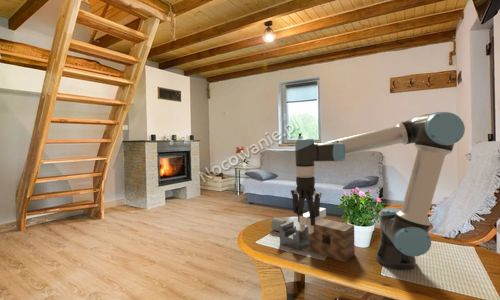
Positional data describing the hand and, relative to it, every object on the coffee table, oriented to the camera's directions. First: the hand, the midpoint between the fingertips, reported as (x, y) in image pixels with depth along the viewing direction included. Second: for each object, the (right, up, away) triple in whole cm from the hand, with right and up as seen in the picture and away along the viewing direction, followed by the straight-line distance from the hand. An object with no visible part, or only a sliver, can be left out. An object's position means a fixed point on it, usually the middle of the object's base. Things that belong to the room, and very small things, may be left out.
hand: (306, 231), depth 108 cm
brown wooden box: (+16, -15, +16) cm, 27 cm away
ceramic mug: (-5, -15, +48) cm, 51 cm away
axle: (+4, +4, +4) cm, 7 cm away
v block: (0, -15, +27) cm, 31 cm away
